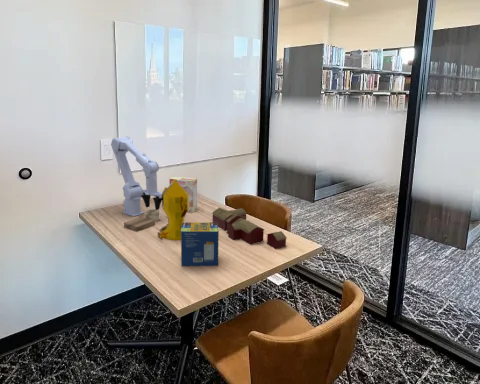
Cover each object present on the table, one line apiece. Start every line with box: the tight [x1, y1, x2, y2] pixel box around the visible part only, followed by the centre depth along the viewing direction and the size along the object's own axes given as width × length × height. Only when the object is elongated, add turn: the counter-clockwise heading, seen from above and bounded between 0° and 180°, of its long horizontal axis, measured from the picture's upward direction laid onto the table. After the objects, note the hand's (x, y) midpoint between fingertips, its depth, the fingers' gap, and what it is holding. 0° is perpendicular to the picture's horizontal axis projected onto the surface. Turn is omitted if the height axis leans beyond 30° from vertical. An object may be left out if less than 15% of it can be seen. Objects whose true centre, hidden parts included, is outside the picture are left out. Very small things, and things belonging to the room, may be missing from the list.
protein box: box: [180, 221, 220, 267], centre depth 153 cm, size 10×15×16 cm
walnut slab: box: [123, 216, 156, 233], centre depth 192 cm, size 10×12×3 cm
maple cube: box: [145, 208, 160, 222], centre depth 203 cm, size 5×5×5 cm
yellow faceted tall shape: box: [157, 179, 189, 242], centre depth 179 cm, size 18×24×28 cm
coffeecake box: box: [169, 175, 198, 213], centre depth 218 cm, size 15×7×20 cm, turn 77°
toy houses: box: [210, 207, 288, 250], centre depth 185 cm, size 45×20×10 cm, turn 34°
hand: (152, 208), depth 202 cm, fingers open, 7 cm apart
